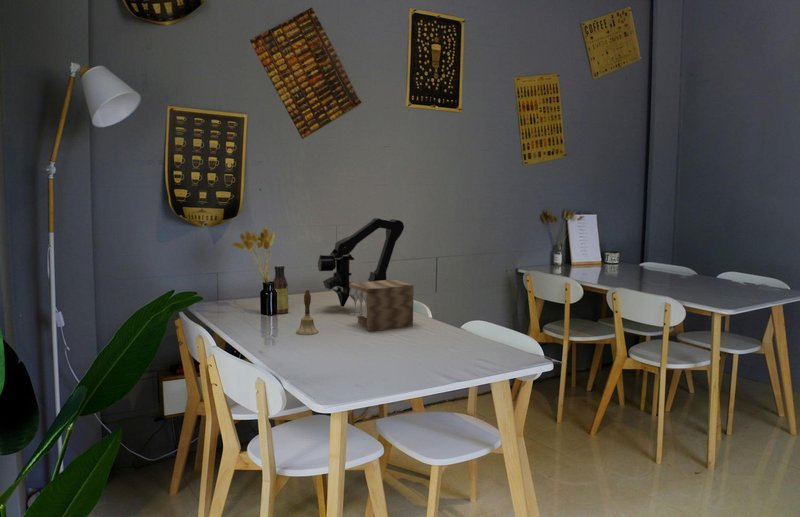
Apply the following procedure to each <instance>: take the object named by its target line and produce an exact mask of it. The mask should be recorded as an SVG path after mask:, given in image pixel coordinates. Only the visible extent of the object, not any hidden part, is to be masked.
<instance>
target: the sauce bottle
mask: <svg viewBox="0 0 800 517" xmlns="http://www.w3.org/2000/svg"><path fill="white" fill-rule="evenodd" d="M274 273H275V274H274V279H273V281H272V283H273V282H274V289H275V290H276V292H277V313H276V314H279V315H280V314H288V312H289V285H288V281H287V279H286V276H285V265H283V264H281V265H278V264H277V265H274Z"/></svg>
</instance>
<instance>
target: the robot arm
mask: <svg viewBox="0 0 800 517" xmlns="http://www.w3.org/2000/svg"><path fill="white" fill-rule="evenodd" d="M378 229H385V240H384V243H383V247H382V250H381V252H380V256H379V259H378V263H377V265H376V268H375V270H374V271H370V272H369V277H368V279H367V282H371V281H382V280H387V272H388V267H389V266H390V265H389V264H390V262H391V258H392V256H393V252H394V248H395V246H396V243H397V241H398V240H399V238H400V237H401V235H402V233H403V232H404V229H405V225H404V223H403V222H402V220H399V219H394V218H393V219H390V220H387V219H382V218H378V217H374V218H373V219H371V221H369V222H367V223H366V224H365V225H364V226H362V227H361V228H359V229H358V230H357V231H355V232H354V233H353V234H351V235H349V236H346V237H344V238H342V239H339V240H338V241H336V243H335V244H334V248H333V250H332V251H331V253H330V254H329V255H328V254H327V255H324V254H319V256H318V257H319V258H318V262H317V268H318V272H332V271H334V270H335V272H334V273H333V276H331V277H329V278H327V279H325V280H323V281H322V282H323V285H324V289H326V290H330V291H331V290H332V291H333V292H335V293H336V295H337V298H338V301H339V303H340V306H341V307H345V306H346V304H347V301H348V300H349V297H350V295H349V290H350V287H349V284H350V283H352V282H350V276H352V272H350V261H354V260H355V258H354V256H352V254H351V252H352V251H353V250H354V249H355V247H356V246H357V245H358V244H359V243H361V242H362V241H363V240H364V239H366V238H367V237H368V236H370V235H371V234H373V233H374V232H375V231H376V230H378ZM333 288H334V289H333Z"/></svg>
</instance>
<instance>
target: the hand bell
mask: <svg viewBox="0 0 800 517" xmlns="http://www.w3.org/2000/svg"><path fill="white" fill-rule="evenodd" d="M311 303H312V297H311V292H310V289H305V292H304V295H303V304H304V307H305V308H304V316H303V317H301V318H300V324H299V326H298V328H297V329H296V331H295V333H296V334H297V335H302V336H303V335H304V336H312V335H316V334H318V333H319V330H318V329H317V328H316V326H315V323H314V318H313V317H312V316H311V315H310V314H311V313H310V306H311Z"/></svg>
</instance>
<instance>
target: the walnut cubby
mask: <svg viewBox="0 0 800 517" xmlns="http://www.w3.org/2000/svg"><path fill="white" fill-rule="evenodd" d="M349 287H350V288H353V289H356V290H359V291H362V292H365V293H367V308H366V317H363V316H364V315H362V316H361V315H357V316H358V318H357V323H358V324H360V325H363V326H366V332H367V333H371V332H376V331H384V330H391V329H392V330H393V329H399V328H405V327H412V326H413V325H414V289H415V288H414V285H413V284H410V283H407V282H403V281H401V280H396V279H386V280H382V281H371V282H369V281H363V282H361V281H360V282H353V283H352V282H351V283H350V284H349Z"/></svg>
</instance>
